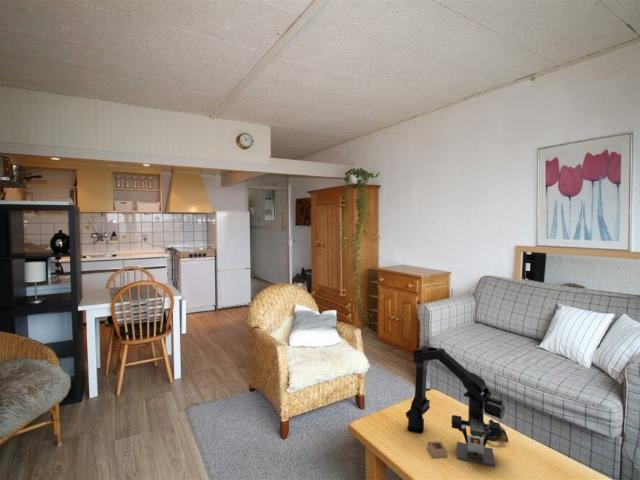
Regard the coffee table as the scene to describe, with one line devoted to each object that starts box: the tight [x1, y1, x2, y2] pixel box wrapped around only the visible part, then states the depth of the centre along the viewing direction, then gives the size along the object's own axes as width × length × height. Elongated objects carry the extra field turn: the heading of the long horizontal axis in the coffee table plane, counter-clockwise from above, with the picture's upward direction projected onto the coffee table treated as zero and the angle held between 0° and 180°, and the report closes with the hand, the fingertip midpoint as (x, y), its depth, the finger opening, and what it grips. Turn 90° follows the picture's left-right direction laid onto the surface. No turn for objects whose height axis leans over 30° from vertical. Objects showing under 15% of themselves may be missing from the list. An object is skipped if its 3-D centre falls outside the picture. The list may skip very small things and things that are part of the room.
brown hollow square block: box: [426, 440, 448, 459], centre depth 149 cm, size 6×6×3 cm
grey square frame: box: [467, 434, 484, 454], centre depth 146 cm, size 6×6×3 cm
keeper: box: [456, 440, 496, 468], centre depth 147 cm, size 14×10×6 cm
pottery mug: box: [487, 419, 509, 443], centre depth 158 cm, size 12×10×8 cm
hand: (475, 445), depth 147 cm, fingers closed on grey square frame, 6 cm apart
